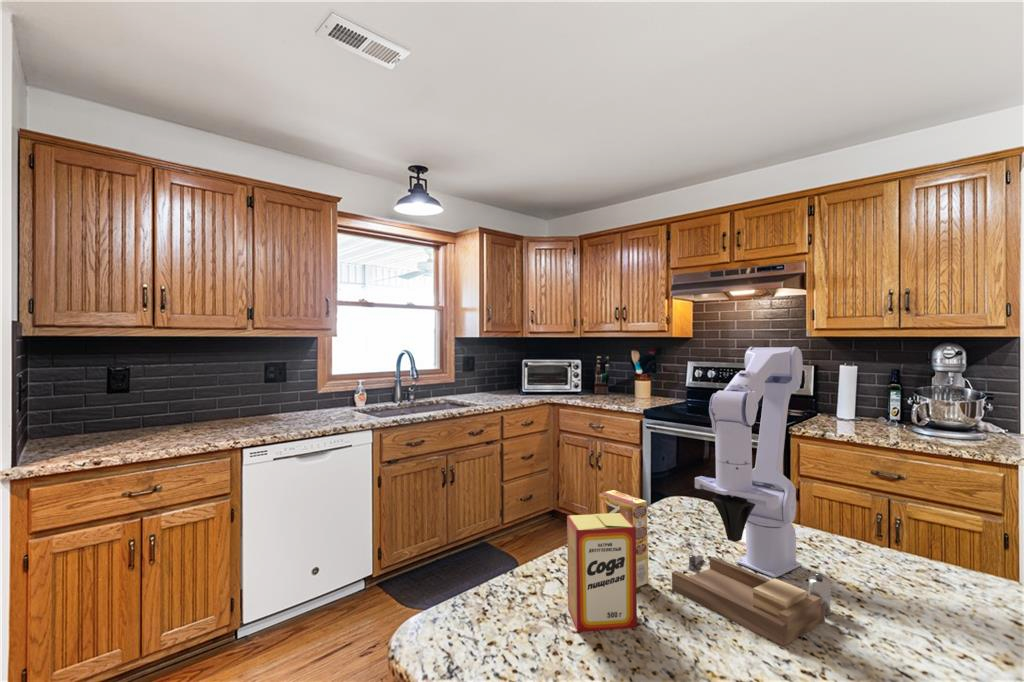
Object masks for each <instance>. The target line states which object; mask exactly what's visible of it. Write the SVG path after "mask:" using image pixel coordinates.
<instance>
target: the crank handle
mask: <svg viewBox="0 0 1024 682" xmlns="http://www.w3.org/2000/svg"><path fill="white" fill-rule="evenodd" d="M703 561H704V555H701V554H697V556H696V555H694V554H689V555H688V571H689V570H690V571H693V572H695V570H696V569H697V568H698V567H699V566H700V565H701V563H702V562H703Z"/></svg>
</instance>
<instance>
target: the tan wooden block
mask: <svg viewBox="0 0 1024 682" xmlns="http://www.w3.org/2000/svg"><path fill="white" fill-rule="evenodd" d="M769 580H770V581H768V582H766V583H764V584H761V585H759V586H757V587H755V588H754V592H753V597H754V605H753V607H754V608H756V609H758V610H760V611H763V612H765V613H767V614H769V615H771V616H773V617H775V618H777V619H779V613H780V612H781V611H783V610H785V609H787V608H789V607H791V606H793V605H794V604H796V603H798V602H800V601H802V600H804V599H806V598H807V595H808V594H807V590H804V589H802V588H800V587H797V586H795V585H793V584H790V583H787V582H785V581H782V580H780V579H778V578H774V577H773V578H772V579H769Z"/></svg>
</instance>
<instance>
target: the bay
mask: <svg viewBox="0 0 1024 682" xmlns="http://www.w3.org/2000/svg"><path fill="white" fill-rule="evenodd" d="M770 580H771V579H769V578H767V577H765V576H762V575H759V574H757V573H755V572H752V571H750V570H747V569H745V568H743V567H740V566H738V565H735V564H733V563H730V562H727V561H726V560H723V559H721V558H718V557H715V556H712V557H710V558H709V568H708V569H705V570H703V571H700V572H698V573H695V574H692V575H690V576H688V575H687V574H684V573H682V572H679V571H677V570H676V571H675V570H674V571H673V572H671V589H672V590H673V591H674V592H676V593H678V594H680V595H682V596H684V597H686V598H689V599H690V600H693V601H694V602H695V603H698V604H700V605H702V606H704V607H706V608H708V609H709V610H710V611H711V610H712V611H714V612H715V613H717V614H719V615H721V616H723V617H724V618H725V617H726V618H727V619H728V620H731V621H733V622H735V623H737V624H739V625H740V626H743V627H744V628H747V629H749V631H752V632H754V633H756V634H757V635H760V636H762V637H764V638H766V639H768V640H769V641H772V642H774V643H775V644H777V645H779V646H781V647H785V646H787V645H788V644H790V643H791V642H793V641H795V640H796V639H798V638H800V637H801V636H803V635H805V634H806V633H808V632H810V631H811V630H813V629H814V628H816V627H818V626H820V625H821V624H823V623H824V622H825V621H826V616H825V602H823V601H821V598H820V597H817V596H815V595H811V596H809V594H807V598H806V599H804V600H802V601H800V602H798V603H796V604H794V605H793V606H791V607H789V608H787V609H785V610H783V611H781V612H780V613H779V619H777V618H775V617H773V616H771V615H769V614H767V613H765V612H763V611H760V610H758V609H756V608H754V607H753V605H754V597H753V592H754V588H755V587H757V586H759V585H761V584H764V583H766V582H768V581H770Z"/></svg>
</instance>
